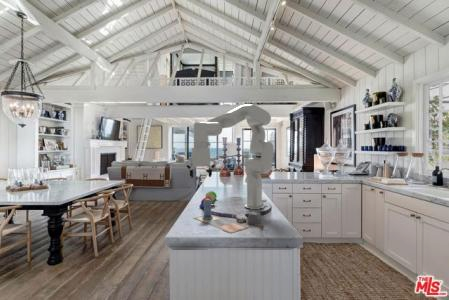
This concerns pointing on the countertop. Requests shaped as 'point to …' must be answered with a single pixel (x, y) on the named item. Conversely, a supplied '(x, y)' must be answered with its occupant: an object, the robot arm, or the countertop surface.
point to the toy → (211, 196)
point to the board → (222, 224)
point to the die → (254, 217)
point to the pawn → (207, 209)
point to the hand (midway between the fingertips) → (200, 177)
